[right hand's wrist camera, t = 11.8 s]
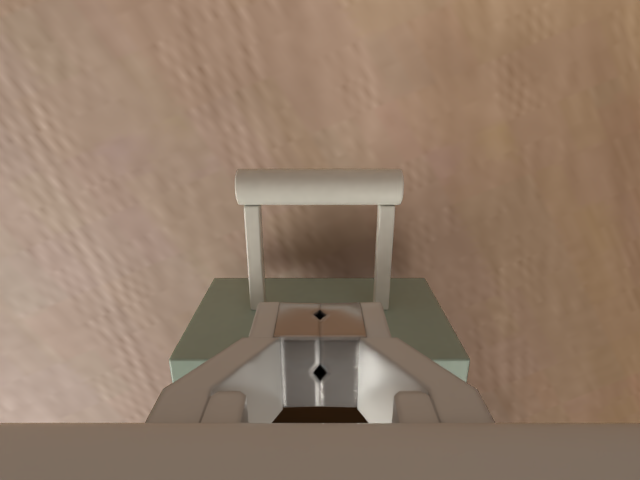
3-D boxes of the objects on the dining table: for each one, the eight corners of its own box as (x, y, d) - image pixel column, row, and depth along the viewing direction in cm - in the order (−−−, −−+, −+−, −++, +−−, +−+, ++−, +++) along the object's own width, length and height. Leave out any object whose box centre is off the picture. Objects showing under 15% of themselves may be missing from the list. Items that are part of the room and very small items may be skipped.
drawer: (202, 157, 18) (141, 191, 12) (436, 157, 18) (496, 191, 12) (240, 536, 26) (216, 670, 20) (399, 536, 26) (423, 670, 20)
